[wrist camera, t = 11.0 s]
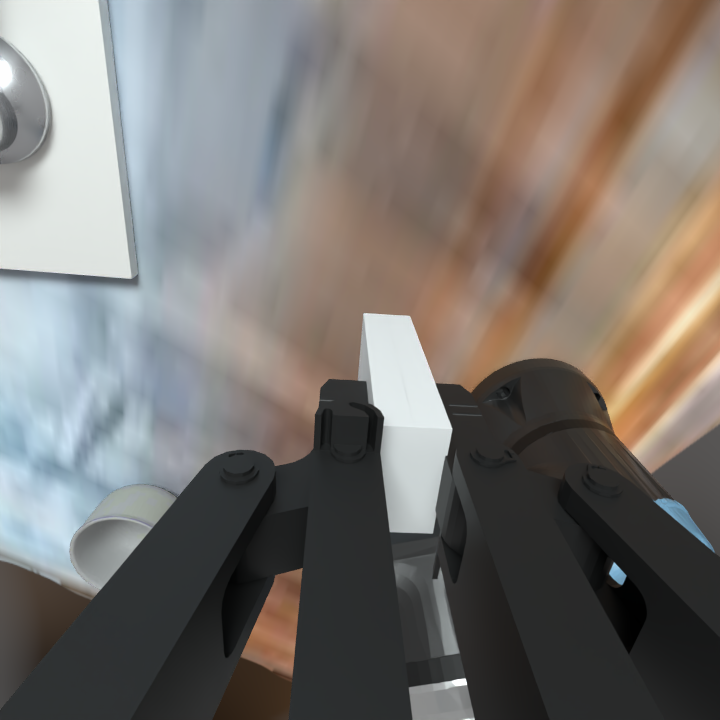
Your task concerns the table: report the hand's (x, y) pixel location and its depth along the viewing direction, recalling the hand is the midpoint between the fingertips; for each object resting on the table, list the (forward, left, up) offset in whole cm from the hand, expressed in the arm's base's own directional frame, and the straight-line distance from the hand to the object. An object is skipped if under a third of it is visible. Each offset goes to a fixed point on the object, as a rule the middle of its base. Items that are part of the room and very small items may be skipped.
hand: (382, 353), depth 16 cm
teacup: (-35, +19, -29) cm, 50 cm away
